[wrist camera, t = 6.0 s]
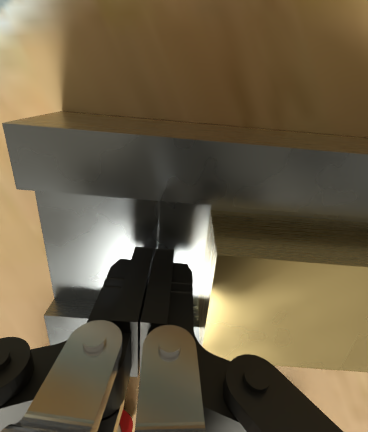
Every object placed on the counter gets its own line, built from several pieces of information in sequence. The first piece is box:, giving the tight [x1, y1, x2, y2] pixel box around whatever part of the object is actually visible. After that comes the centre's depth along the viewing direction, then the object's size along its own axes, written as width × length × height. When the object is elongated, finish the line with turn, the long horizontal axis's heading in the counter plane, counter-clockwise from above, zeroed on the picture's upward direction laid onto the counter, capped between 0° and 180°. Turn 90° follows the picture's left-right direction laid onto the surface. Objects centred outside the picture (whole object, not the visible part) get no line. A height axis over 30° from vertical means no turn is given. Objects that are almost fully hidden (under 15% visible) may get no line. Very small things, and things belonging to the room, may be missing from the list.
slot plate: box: [2, 111, 368, 345], centre depth 12 cm, size 16×10×4 cm, turn 85°
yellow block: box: [198, 210, 368, 370], centre depth 10 cm, size 5×4×3 cm
